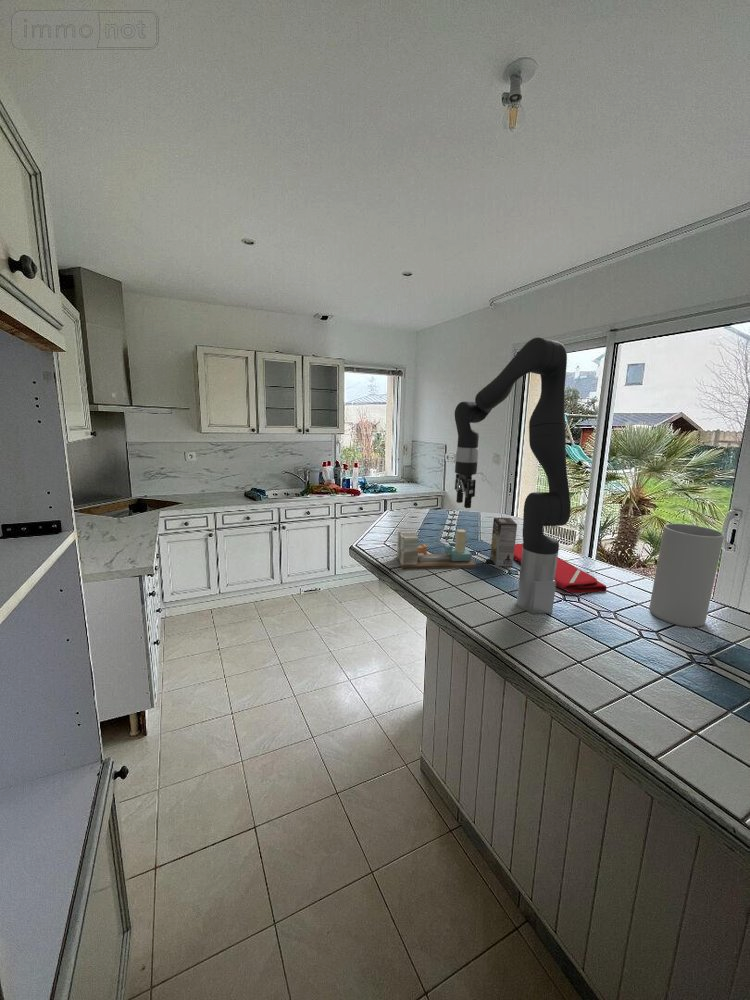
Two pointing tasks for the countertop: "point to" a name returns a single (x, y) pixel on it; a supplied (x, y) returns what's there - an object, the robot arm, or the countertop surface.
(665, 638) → the countertop surface
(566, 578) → the folded red towel
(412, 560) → the rail bench
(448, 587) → the countertop surface
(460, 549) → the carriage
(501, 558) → the coffee box
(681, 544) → the cylinder vase
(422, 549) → the button
